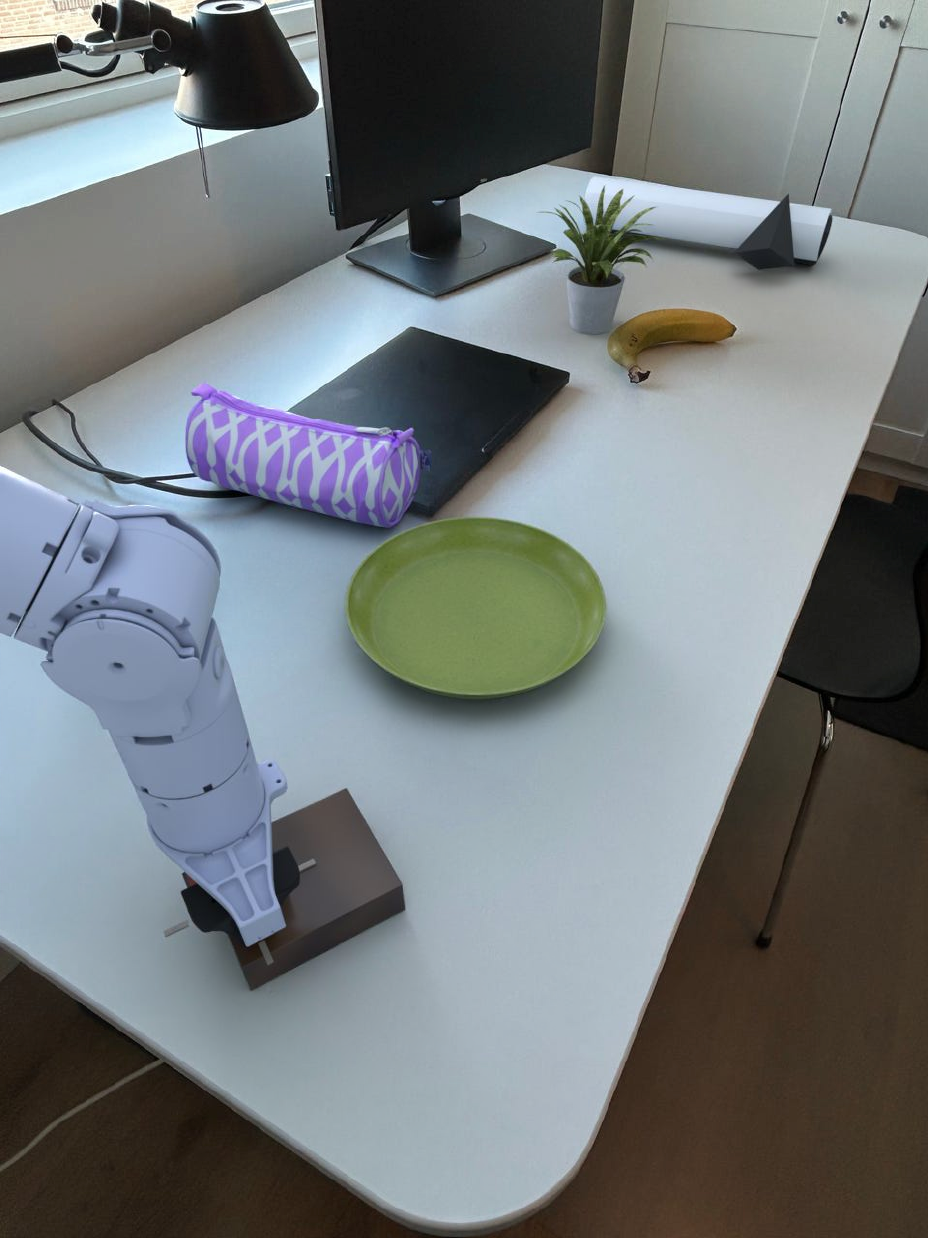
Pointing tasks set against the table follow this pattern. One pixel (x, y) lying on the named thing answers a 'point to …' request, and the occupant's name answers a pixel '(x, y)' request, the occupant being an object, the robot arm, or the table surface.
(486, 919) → the table surface
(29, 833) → the table surface
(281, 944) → the stand
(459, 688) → the green plate
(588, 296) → the house plant
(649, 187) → the diploma
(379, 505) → the pencil case
